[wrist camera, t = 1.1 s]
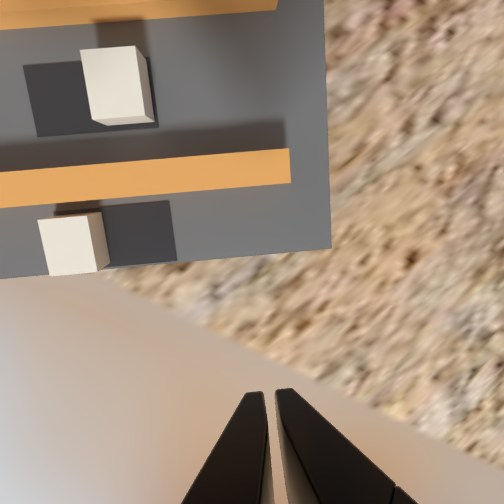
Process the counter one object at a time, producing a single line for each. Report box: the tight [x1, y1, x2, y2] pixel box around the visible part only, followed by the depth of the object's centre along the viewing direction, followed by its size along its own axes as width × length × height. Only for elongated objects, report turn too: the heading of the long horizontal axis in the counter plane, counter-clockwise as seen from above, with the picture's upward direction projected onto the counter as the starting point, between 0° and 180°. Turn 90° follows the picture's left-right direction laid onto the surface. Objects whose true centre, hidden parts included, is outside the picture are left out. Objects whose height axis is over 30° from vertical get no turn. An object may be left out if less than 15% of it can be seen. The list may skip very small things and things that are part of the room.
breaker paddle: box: [80, 46, 155, 126], centre depth 14 cm, size 2×2×2 cm
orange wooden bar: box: [0, 148, 291, 208], centre depth 15 cm, size 16×1×1 cm, turn 95°
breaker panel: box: [0, 0, 332, 279], centre depth 15 cm, size 20×15×5 cm
